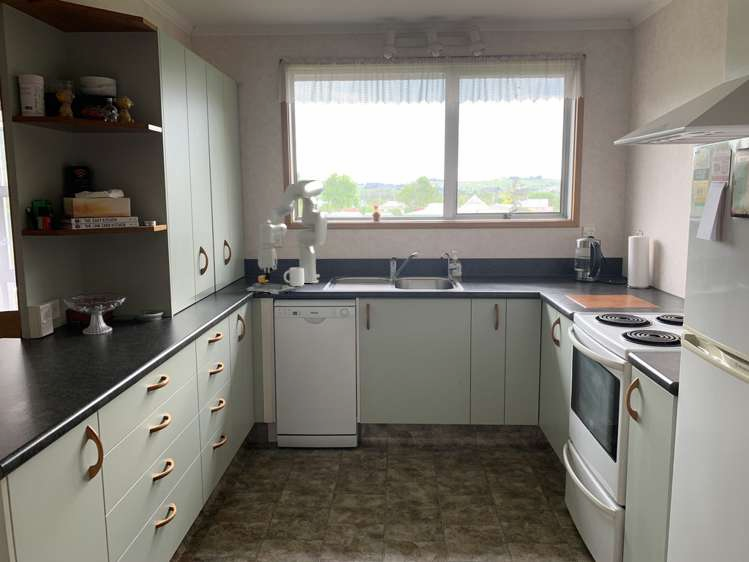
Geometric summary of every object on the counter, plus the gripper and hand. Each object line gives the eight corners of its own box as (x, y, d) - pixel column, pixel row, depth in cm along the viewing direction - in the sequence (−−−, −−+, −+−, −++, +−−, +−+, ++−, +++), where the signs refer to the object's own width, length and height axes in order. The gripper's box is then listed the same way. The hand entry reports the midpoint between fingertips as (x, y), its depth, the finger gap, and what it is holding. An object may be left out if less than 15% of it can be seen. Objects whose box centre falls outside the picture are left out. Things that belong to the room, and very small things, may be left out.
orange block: (263, 285, 335) (262, 275, 334) (268, 286, 333) (268, 275, 332) (258, 286, 331) (258, 276, 330) (263, 287, 329) (263, 276, 329)
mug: (282, 287, 344) (281, 269, 342) (285, 284, 352) (285, 267, 350) (302, 287, 342) (302, 269, 341) (306, 284, 350) (305, 267, 349)
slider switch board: (263, 287, 341) (263, 281, 341) (294, 290, 331) (293, 284, 331) (247, 291, 329) (247, 285, 328) (278, 294, 319) (278, 287, 318)
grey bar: (294, 290, 331) (294, 288, 330) (296, 290, 330) (296, 288, 330) (279, 294, 319) (279, 291, 319) (281, 294, 318) (281, 291, 318)
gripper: (252, 246, 327) (253, 280, 330) (274, 247, 320) (275, 281, 323) (260, 245, 334) (262, 278, 337) (282, 246, 327) (283, 279, 330)
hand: (268, 279), depth 330 cm, fingers closed
